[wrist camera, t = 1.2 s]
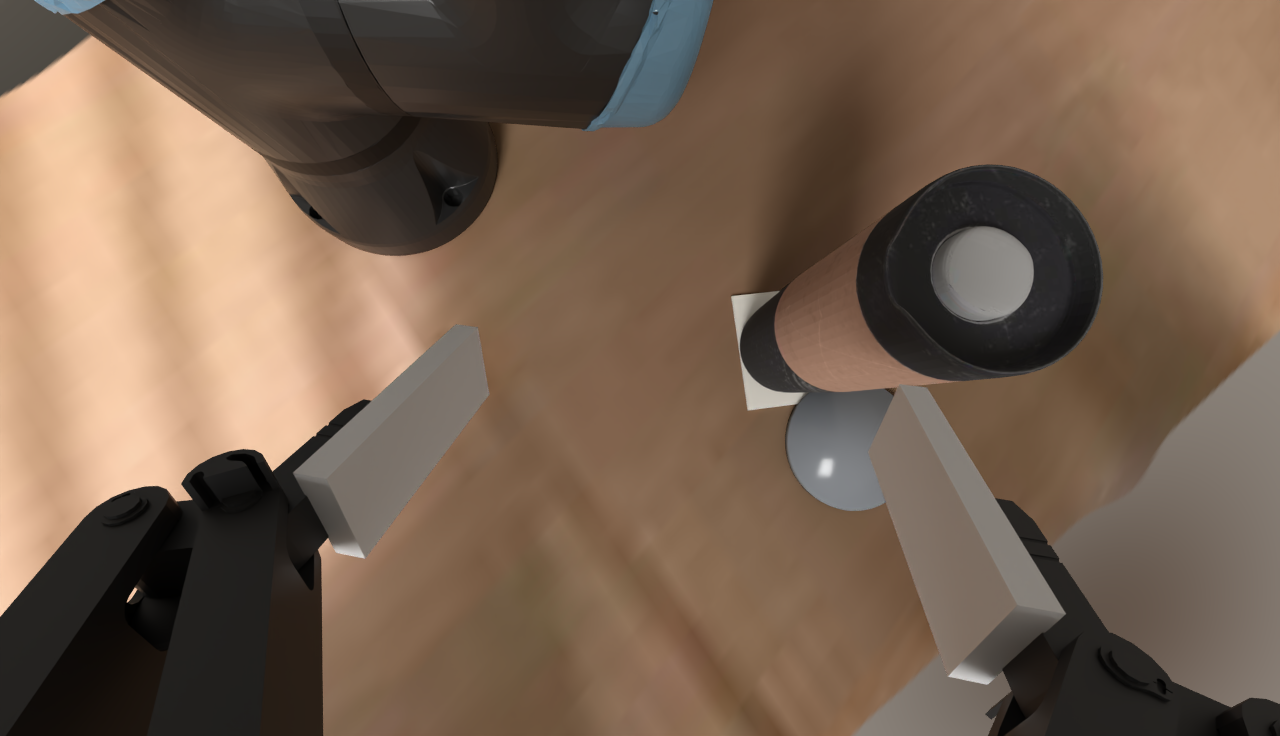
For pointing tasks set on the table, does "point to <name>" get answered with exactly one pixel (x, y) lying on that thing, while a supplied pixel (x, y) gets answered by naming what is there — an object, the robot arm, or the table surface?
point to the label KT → (753, 390)
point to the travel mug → (937, 292)
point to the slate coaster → (837, 446)
